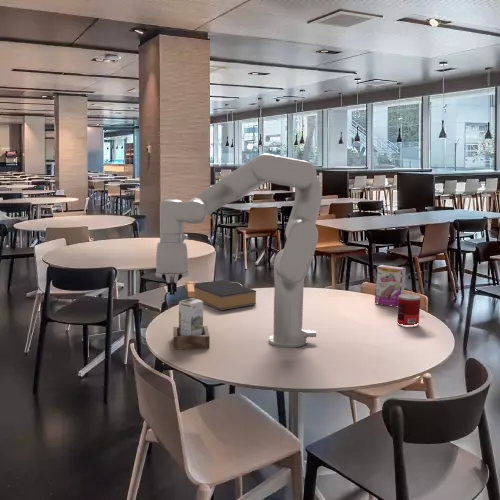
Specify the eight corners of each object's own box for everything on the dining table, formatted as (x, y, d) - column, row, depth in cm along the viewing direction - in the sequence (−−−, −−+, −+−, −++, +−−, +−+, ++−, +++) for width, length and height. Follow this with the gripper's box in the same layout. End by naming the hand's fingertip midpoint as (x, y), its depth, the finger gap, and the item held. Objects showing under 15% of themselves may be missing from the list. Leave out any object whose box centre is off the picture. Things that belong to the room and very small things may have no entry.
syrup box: (190, 339, 193) (190, 297, 191) (203, 343, 190) (203, 300, 187) (178, 343, 189) (178, 300, 187) (191, 347, 185) (191, 303, 183)
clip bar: (194, 287, 197) (194, 281, 197) (196, 297, 183) (196, 291, 183) (185, 287, 197) (185, 281, 196) (186, 297, 182) (186, 291, 182)
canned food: (422, 324, 214) (424, 296, 213) (412, 329, 209) (413, 299, 207) (403, 320, 219) (405, 292, 218) (393, 324, 214) (394, 296, 212)
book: (223, 294, 259) (223, 279, 258) (256, 306, 239) (256, 290, 238) (190, 299, 249) (189, 284, 248) (221, 312, 229) (221, 296, 228)
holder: (206, 331, 202) (206, 286, 199) (209, 348, 184) (209, 298, 182) (173, 332, 200) (173, 287, 198) (173, 349, 183) (173, 299, 180)
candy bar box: (374, 304, 244) (376, 266, 241) (378, 301, 248) (380, 264, 245) (400, 308, 238) (402, 269, 235) (403, 305, 242) (406, 267, 239)
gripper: (194, 236, 189) (194, 291, 191) (148, 236, 186) (149, 291, 189) (195, 240, 181) (195, 296, 184) (147, 240, 179) (148, 297, 182)
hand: (172, 294), depth 187 cm, fingers closed
